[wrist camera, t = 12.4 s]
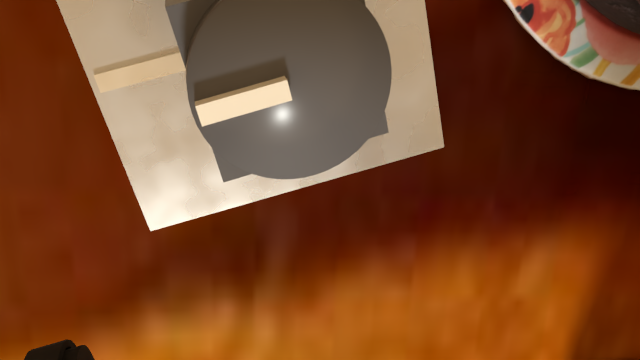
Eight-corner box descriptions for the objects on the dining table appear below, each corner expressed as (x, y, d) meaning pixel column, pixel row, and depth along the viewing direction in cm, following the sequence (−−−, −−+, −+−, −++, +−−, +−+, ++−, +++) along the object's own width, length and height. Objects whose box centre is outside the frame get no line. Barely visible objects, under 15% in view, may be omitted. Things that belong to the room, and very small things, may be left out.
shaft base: (387, -193, 25) (452, -224, 18) (433, 136, 31) (493, 195, 25) (22, -106, 24) (-38, -109, 17) (152, 216, 30) (141, 298, 24)
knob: (319, -61, 25) (377, -49, 18) (351, 92, 28) (410, 152, 21) (159, -19, 24) (155, 10, 17) (209, 133, 27) (223, 209, 20)
